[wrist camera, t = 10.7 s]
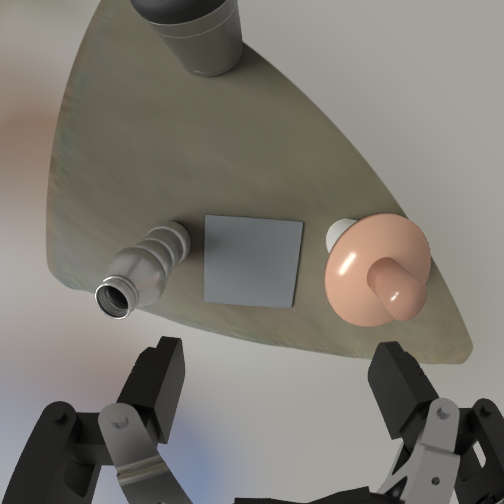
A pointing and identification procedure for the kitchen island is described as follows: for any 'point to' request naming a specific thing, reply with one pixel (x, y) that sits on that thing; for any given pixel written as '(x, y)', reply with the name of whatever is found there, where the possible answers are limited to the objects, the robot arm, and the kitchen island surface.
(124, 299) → the plastic bottle
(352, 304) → the lid
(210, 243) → the mat
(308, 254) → the kitchen island surface
